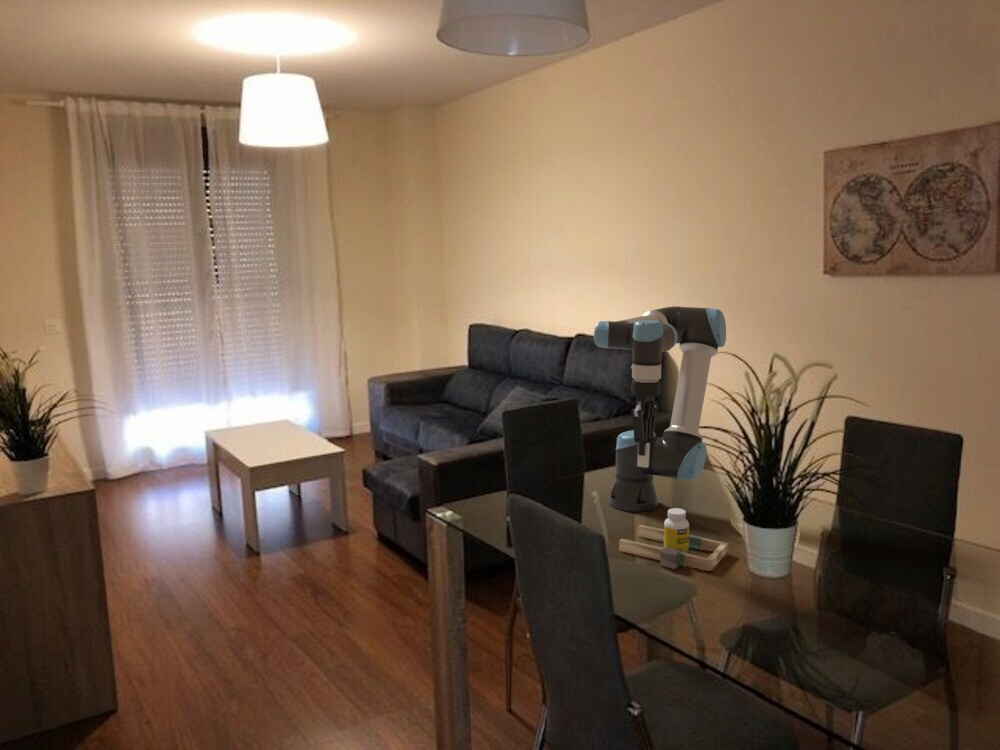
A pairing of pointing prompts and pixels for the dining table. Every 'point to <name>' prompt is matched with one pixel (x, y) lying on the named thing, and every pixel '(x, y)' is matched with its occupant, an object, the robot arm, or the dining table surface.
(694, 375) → the robot arm
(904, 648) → the dining table surface
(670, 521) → the pill bottle
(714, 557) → the beam track
